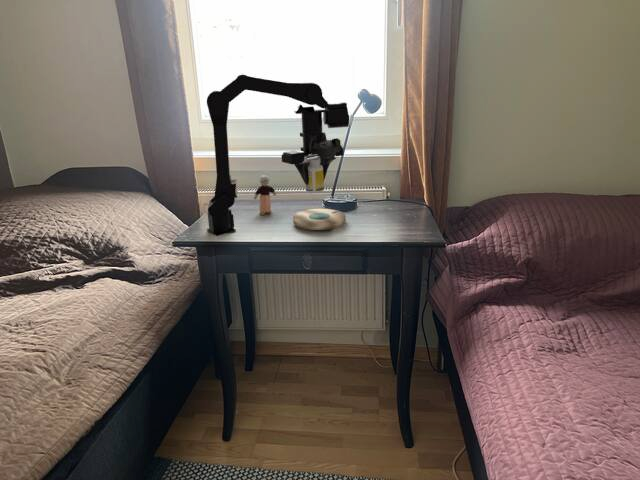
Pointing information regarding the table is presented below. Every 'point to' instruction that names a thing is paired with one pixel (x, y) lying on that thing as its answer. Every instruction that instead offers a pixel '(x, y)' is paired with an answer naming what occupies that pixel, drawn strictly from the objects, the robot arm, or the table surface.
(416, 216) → the table surface
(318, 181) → the supplement bottle
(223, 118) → the robot arm
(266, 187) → the grandmother figurine
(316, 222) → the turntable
